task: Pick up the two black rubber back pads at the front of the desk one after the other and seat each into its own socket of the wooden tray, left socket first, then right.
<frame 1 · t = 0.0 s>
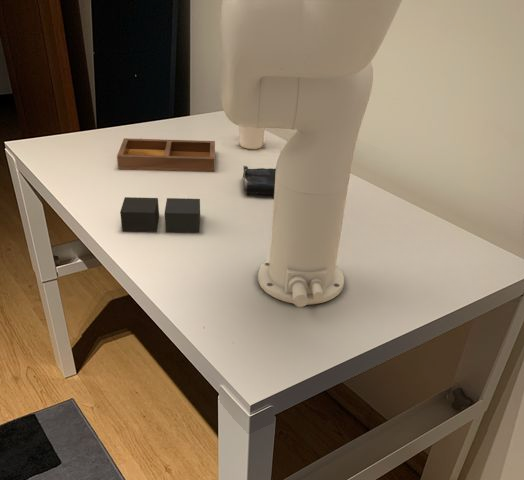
pad left: (141, 224, 93), on the table
wooden tray: (168, 160, 114), on the table
drinking glass: (251, 146, 123), on the table
pad right: (183, 224, 93), on the table
electronic device: (282, 190, 106), on the table
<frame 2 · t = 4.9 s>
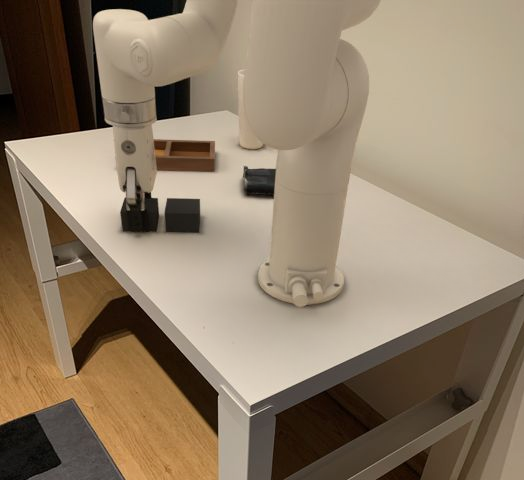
hand: (141, 221, 92), 1 cm above the table, tool pointing down, fingers closed on pad left, 5 cm apart
pad left: (141, 224, 93), on the table, touching gripper
everything else where it was.
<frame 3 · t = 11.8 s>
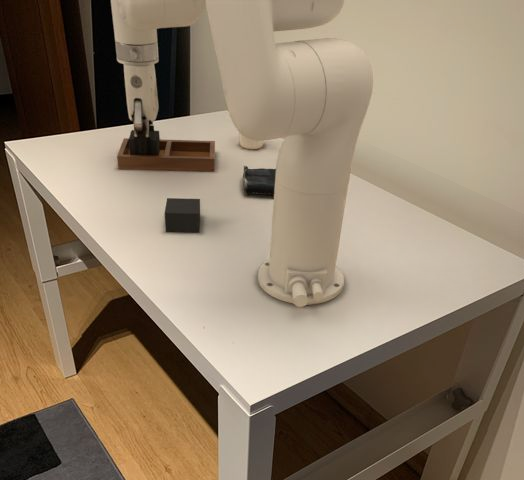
hand: (145, 149, 113), 2 cm above the table, tool pointing down, fingers closed on pad left, 5 cm apart
pad left: (145, 152, 113), point 2 cm above the table, touching gripper
everything else where it was.
when the fingers open (4 cm above the table, at t = 21.4 s): pad left drops 2 cm, resting on wooden tray.
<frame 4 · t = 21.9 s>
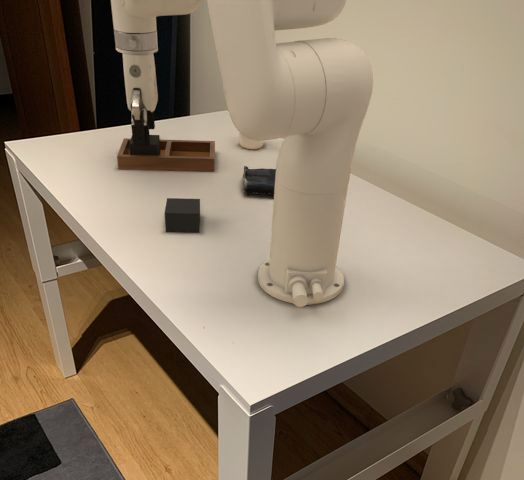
hand: (144, 136, 111), 5 cm above the table, tool pointing down, fingers open, 9 cm apart
pad left: (145, 156, 114), point 1 cm above the table, touching wooden tray
everything else where it was.
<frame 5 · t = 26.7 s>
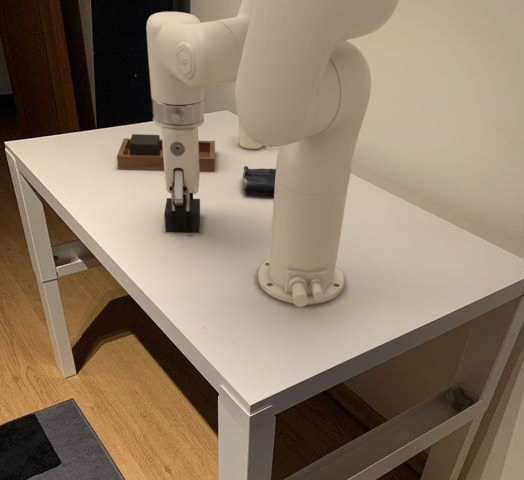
hand: (183, 222, 93), 1 cm above the table, tool pointing down, fingers closed on pad right, 5 cm apart
pad right: (183, 224, 93), on the table, touching gripper
everything else where it was.
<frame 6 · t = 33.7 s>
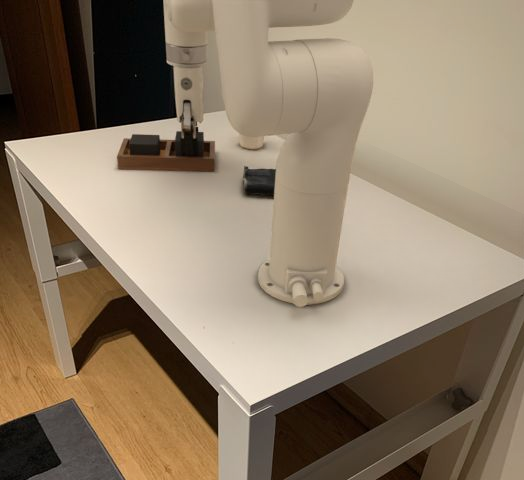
hand: (190, 151, 113), 2 cm above the table, tool pointing down, fingers closed on pad right, 5 cm apart
pad right: (190, 153, 114), point 2 cm above the table, touching gripper
everything else where it was.
when the fingers open (4 cm above the table, at t = 43.3 s): pad right drops 3 cm, resting on wooden tray.
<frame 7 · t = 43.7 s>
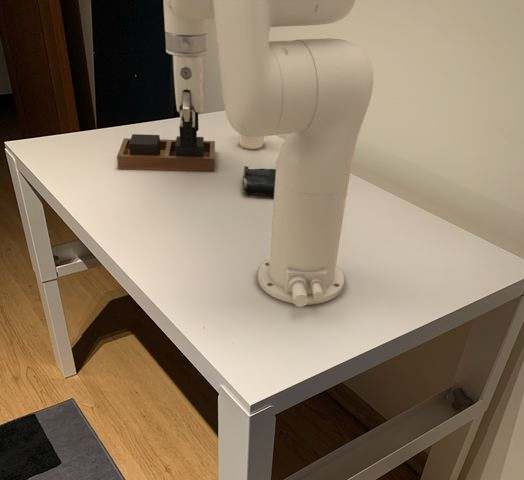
hand: (189, 138, 112), 5 cm above the table, tool pointing down, fingers open, 9 cm apart
pad right: (190, 158, 114), point 1 cm above the table, touching wooden tray
everything else where it was.
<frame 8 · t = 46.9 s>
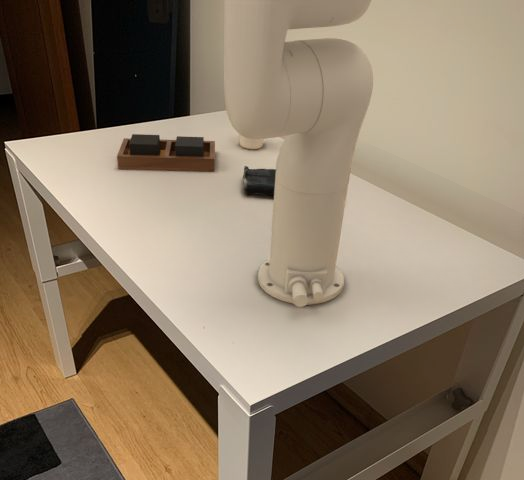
hand: (161, 16, 95), 26 cm above the table, tool pointing down, fingers open, 9 cm apart
nothing on the table moved.
at the end: pad left 0.1 cm from the target spot in the wooden tray, point 0.8 cm above the wooden tray's base; pad right 0.1 cm from the target spot in the wooden tray, point 0.6 cm above the wooden tray's base; pad right tilted 0° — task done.
